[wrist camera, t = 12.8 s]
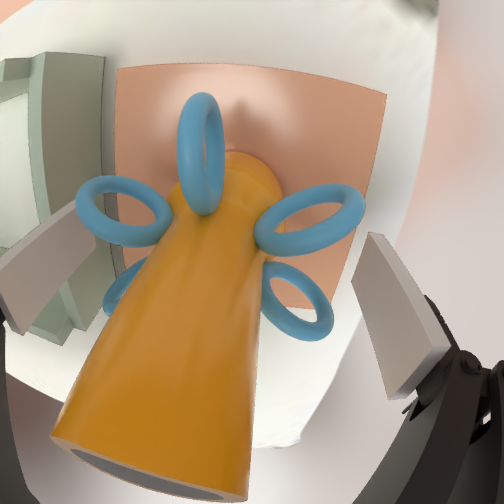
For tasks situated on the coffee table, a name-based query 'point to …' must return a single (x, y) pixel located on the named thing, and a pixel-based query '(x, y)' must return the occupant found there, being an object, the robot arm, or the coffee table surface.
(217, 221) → the orange tube
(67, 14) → the coffee table surface
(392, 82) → the coffee table surface
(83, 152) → the box
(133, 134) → the terracotta tile
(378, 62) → the coffee table surface
